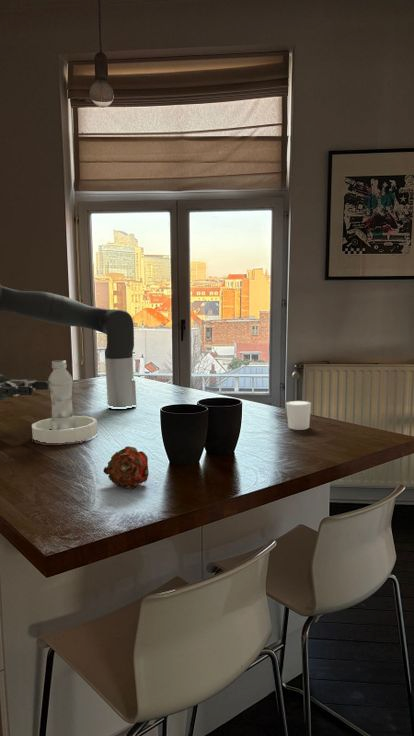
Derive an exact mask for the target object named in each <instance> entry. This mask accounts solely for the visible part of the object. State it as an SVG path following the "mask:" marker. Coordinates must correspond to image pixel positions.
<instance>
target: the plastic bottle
mask: <svg viewBox="0 0 414 736" xmlns="http://www.w3.org/2000/svg"><path fill="white" fill-rule="evenodd" d="M67 367H68V365H67V360H65V359H64V360H63V359H60V360H59V359H58V360H52V361H51V369H53V370H52V372H51V373H50V375H49V376H48V381H47V382H48V384H49V389H48V390H49V392H50V393H49V394H50V400H51V429H52V430H62V429H72V428H75V425H76V422H75V418H74V416H75V415H74V409H73V400H72V399H73V386H74V385H73V384H74V379H73V376H72V375H71V373H70V372H69V371H68V370H67V369H66V368H67Z"/></svg>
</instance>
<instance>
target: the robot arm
mask: <svg viewBox="0 0 414 736" xmlns="http://www.w3.org/2000/svg"><path fill="white" fill-rule="evenodd" d="M0 312H7V313H11V314H16V315H20V316H24V317H26V318H31V319H34V320H37V321H42V322H46V323H50V324H55V325H60V326H67V327H76V328H77V327H79V328H86V329H90V330H93V331H96V332H99V333H102V334H105V335H106V347H105V350H104V362H105V363H104V365H105V379H106V382H105V383H106V397H107V398H106V399H107V403H106V404H107V406H108V405H109V406H113V407H126V406H132V405H136V406H137V393H136V379H135V376H134V359H133V358H134V357H133V355H134V354H133V352H134V349H135V328H134V327H135V326H134V319H133V317H132V315H131V314H130V313H129V312H128V311H126V310H123V309H113V308H112V309H110V308H104V307H103V308H101V307H97V306H96V307H95V306H92V305H87V304H84V302H83V303H82V302H80V301H78V300H76V299H72V298H70V297H68V296H64V295H60V294H57V293H56V294H55V293H53V292H49V291H48V292H47V291H37V290H35V291H34V290H17V289H13V288H9V287H6V286H3V285H1V283H0ZM36 390H45V391H46V390H50V389H49V384H48V381H45V380H44V381H43V380H42V381H39V380H38V379H37V378H36V379H10V380H8V377H6V376H5V375H4V374H2V373H1V374H0V402H4V401H5V400H6V399H7V398H14V397H19V396H33V395H34V391H36Z"/></svg>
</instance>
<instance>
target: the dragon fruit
mask: <svg viewBox="0 0 414 736" xmlns="http://www.w3.org/2000/svg"><path fill="white" fill-rule="evenodd" d="M148 461H149V459H148V455H146V453H145V452H144V451H138V449H137V448H136V447H134V446H130V445H129V446H125V447H124V448H122V449H120V450H119V451H116V452H115V453H113V455H112V456H111V457H110V461H108V462H107V466H105V467H104V468H103V473H104V474H105V475H107V476H108V479H109V480H110V481H111V482H112V483H113V484H114V485H116V486H118V487H122V488H124V489H130V490H133V489H135V488H136V487H137V486H138V485H141V484H143V483H144V484H145V483H146V482H147V480H148V478H149V474H150V473H149V464H148V463H149V462H148Z"/></svg>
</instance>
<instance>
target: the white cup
mask: <svg viewBox="0 0 414 736" xmlns="http://www.w3.org/2000/svg"><path fill="white" fill-rule="evenodd" d="M285 406H286V415H287V425H288V428H289V429H291V430H295V431H296V430H298V431H302V430H303V431H304V430H307V429H309V428H310V421H311V420H310V419H311V407H312V402H311V401H309V400H291V401H287V402H285Z"/></svg>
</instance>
